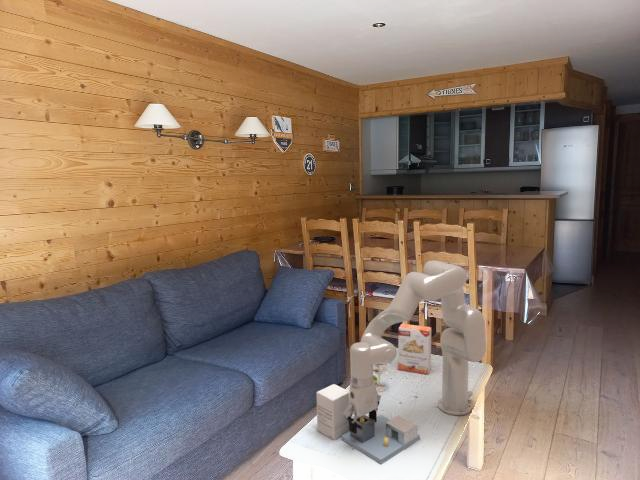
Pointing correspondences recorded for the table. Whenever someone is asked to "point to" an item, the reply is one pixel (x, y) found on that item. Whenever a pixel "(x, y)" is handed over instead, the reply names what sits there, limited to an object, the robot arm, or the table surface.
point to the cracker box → (414, 348)
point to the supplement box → (332, 411)
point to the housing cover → (401, 429)
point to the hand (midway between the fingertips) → (363, 426)
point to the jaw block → (364, 429)
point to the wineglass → (379, 370)
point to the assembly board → (379, 442)
